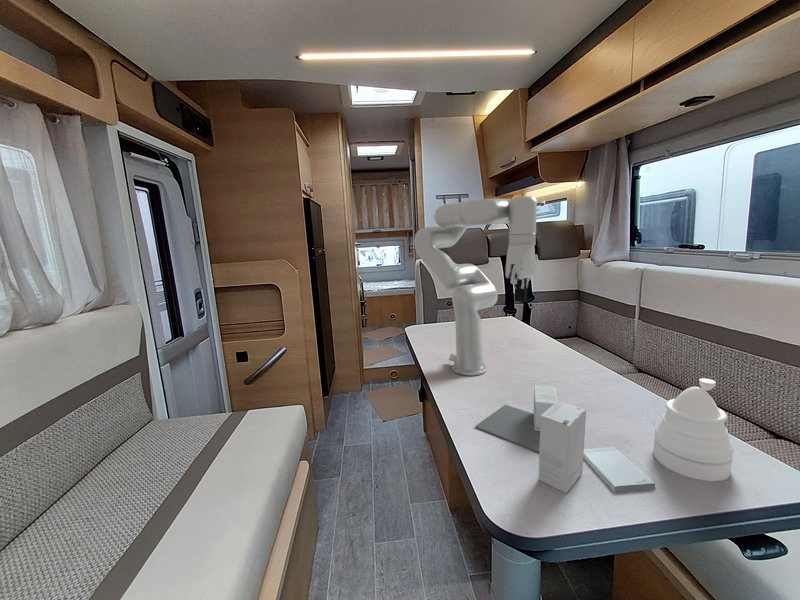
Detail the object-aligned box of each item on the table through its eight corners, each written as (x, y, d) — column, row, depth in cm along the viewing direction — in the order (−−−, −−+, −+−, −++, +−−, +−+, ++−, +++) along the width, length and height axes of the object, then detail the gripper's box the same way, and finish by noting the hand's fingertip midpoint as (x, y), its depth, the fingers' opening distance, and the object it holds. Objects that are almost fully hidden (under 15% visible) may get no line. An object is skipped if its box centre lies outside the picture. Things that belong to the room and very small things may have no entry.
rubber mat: (475, 427, 94) (475, 426, 94) (505, 405, 105) (505, 404, 104) (551, 458, 80) (552, 456, 80) (577, 429, 90) (577, 427, 90)
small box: (554, 413, 98) (558, 434, 88) (533, 411, 100) (534, 431, 90) (556, 386, 96) (559, 404, 87) (533, 384, 98) (535, 402, 88)
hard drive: (655, 483, 69) (614, 446, 81) (614, 486, 69) (579, 448, 81) (655, 491, 69) (614, 452, 82) (613, 494, 69) (578, 455, 81)
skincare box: (555, 462, 78) (557, 398, 76) (584, 474, 74) (587, 407, 71) (537, 481, 73) (538, 413, 70) (567, 496, 68) (569, 424, 66)
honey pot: (694, 442, 83) (702, 368, 80) (749, 479, 70) (760, 393, 67) (639, 445, 83) (645, 371, 80) (684, 483, 70) (693, 397, 67)
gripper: (522, 239, 114) (521, 296, 117) (497, 241, 104) (496, 303, 107) (545, 238, 109) (543, 298, 112) (521, 241, 98) (520, 306, 102)
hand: (520, 300), depth 110 cm, fingers closed
